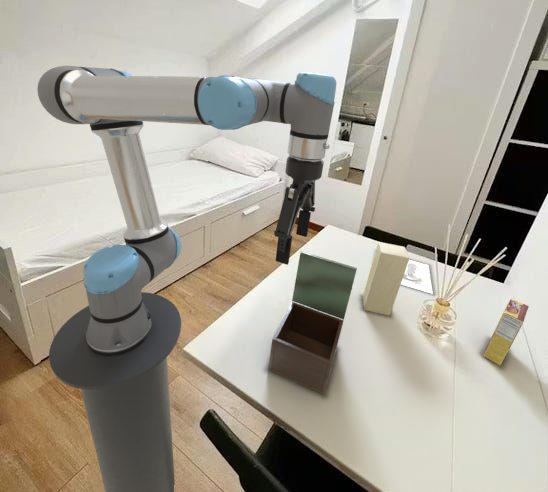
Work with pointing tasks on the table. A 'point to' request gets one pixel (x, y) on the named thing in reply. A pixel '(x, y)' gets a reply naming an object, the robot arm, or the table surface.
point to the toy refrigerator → (385, 278)
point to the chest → (305, 346)
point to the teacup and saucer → (417, 276)
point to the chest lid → (323, 284)
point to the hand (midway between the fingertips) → (292, 247)
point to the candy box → (506, 331)
